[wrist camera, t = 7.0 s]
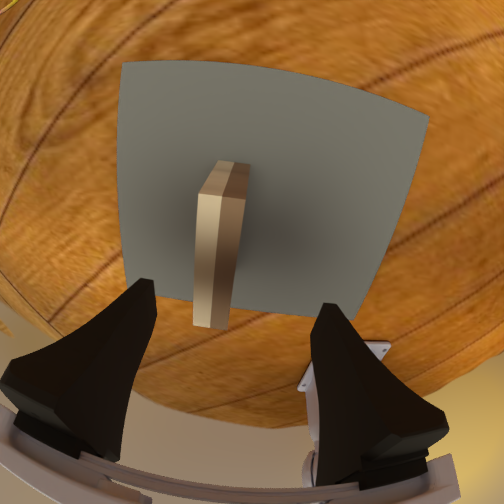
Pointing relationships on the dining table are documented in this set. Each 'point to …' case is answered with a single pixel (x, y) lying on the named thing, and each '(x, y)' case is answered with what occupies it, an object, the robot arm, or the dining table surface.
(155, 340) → the dining table surface
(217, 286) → the tile
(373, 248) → the mat
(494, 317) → the dining table surface
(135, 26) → the dining table surface
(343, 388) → the robot arm
